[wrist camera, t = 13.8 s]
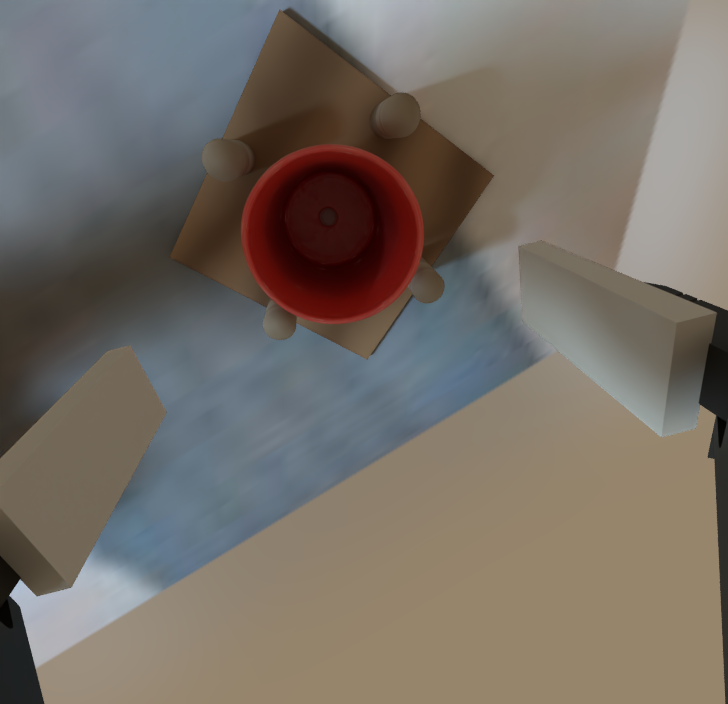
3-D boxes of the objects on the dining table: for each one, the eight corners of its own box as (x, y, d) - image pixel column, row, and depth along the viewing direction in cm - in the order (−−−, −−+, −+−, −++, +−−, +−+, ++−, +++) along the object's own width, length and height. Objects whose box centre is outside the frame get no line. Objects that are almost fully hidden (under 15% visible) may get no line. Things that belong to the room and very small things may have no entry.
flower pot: (282, 118, 30) (268, 107, 21) (417, 177, 33) (454, 189, 24) (244, 256, 34) (220, 293, 25) (367, 298, 37) (384, 345, 28)
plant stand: (171, 255, 34) (142, 278, 28) (280, 12, 28) (271, -24, 22) (366, 356, 40) (375, 393, 34) (491, 175, 34) (528, 181, 28)
